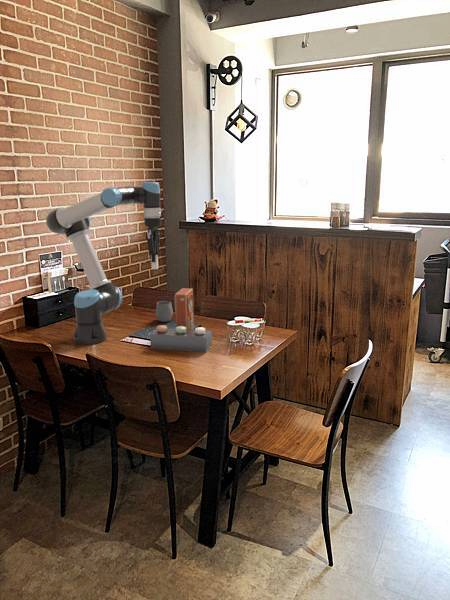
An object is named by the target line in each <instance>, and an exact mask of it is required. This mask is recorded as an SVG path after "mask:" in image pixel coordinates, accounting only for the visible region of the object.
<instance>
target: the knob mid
mask: <svg viewBox="0 0 450 600" xmlns="http://www.w3.org/2000/svg"><path fill="white" fill-rule="evenodd" d="M175 329H176V333H178V334H184V333H186V327H184V326H178V327H175Z"/></svg>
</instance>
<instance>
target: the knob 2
mask: <svg viewBox="0 0 450 600" xmlns="http://www.w3.org/2000/svg"><path fill="white" fill-rule="evenodd" d="M194 330H195V334H198V335H203V334H205V330H206V327H201V326H200V327H199V326H198V327H195V328H194Z"/></svg>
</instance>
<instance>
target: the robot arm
mask: <svg viewBox="0 0 450 600" xmlns="http://www.w3.org/2000/svg"><path fill="white" fill-rule="evenodd" d="M160 187H161V186H160V183H159V182H156V181H147V182H145V181H144V182H142V186H127V185H126V186H119V187H116V186H115V187H112V186H111V187H108V188H105V189H102V192H99V193H98V194H96V195H93V196H90V197H88V198H85V199H83V200H82V201H79V202H76V203H74V204H72V205H70V206H67V207H59V208H56V209H54V210H52V211H50V212H48V214H47V215H46V218H45V221H46V226H47V228H48V230H50V231H51V232H52V233H54V234H56V235H57V234H58V235H63V234H64V236H65V237H66V239H67V240H68V241H70V242H71V243H72V245H73V248H74V250H75V252H76V255H77V257H78V259H79V262H80V264H81V266H82V269H83V271H84V274H85V276H86V279H87V281H88V283H89V285H90V287H89V288H88V289H86V290H81V291H79V292H77V293H76V294H75V295H74V301H73V303H74V304H73V305H74V311H75V322H76V323H75V325H76V326H75V329H74V330H75V331H74V334H73V342H74V343H75V344H77V345H96V344H99V343H103V342H105V341H106V340H107V339H108V338H107V333H106V330H105V327H104V325H103V322H102V315H104V314H107V313H110V312H112V311H115V310H116V309H118V308H119V307H120V306H121V305H122V302H123V294H122V292H121V290H120V288H119V287H117V286H114V285H113V282H112V281H111V280H110V279H107V276H106V273H105V270H104V268H103V266H102V264H101V262H100V259H99V257H98V255H97V252H96V250H95V248H94V245H93V243H92V241H91V239H90V235H89V234H90V231H91V230H90V227H91V218H90V217H92V216H94V215H96V214H99V213H102V212H104V211H107V210H110V209H112V208H114V207H118V206H122V205H133V204H136V205H137V204H140V205H141V204H143V217H144V221H143V222H144V224H143V225H144V227H147V233H146V234H145V238H146V240H147V241H146V242H147V249H148V255H149V256H150V264H151V265H150V266H151V270H158V269H159V259H158V257H159V255H160V254H161V253H160V240H161V230H159V227H161V226H162V218H161V216H162V214H161V213H162V212H163V210H162V209H161V188H160Z"/></svg>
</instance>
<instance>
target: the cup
mask: <svg viewBox="0 0 450 600" xmlns="http://www.w3.org/2000/svg"><path fill="white" fill-rule="evenodd" d="M173 315H174V311H173V306H172V302H171V301H169V300H160V301H157V302H156V308H155V317H156V318H157V320H158V321H159V322H163V323H165V322H167V323H168V322H169V321H171V320H172V317H173Z"/></svg>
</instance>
